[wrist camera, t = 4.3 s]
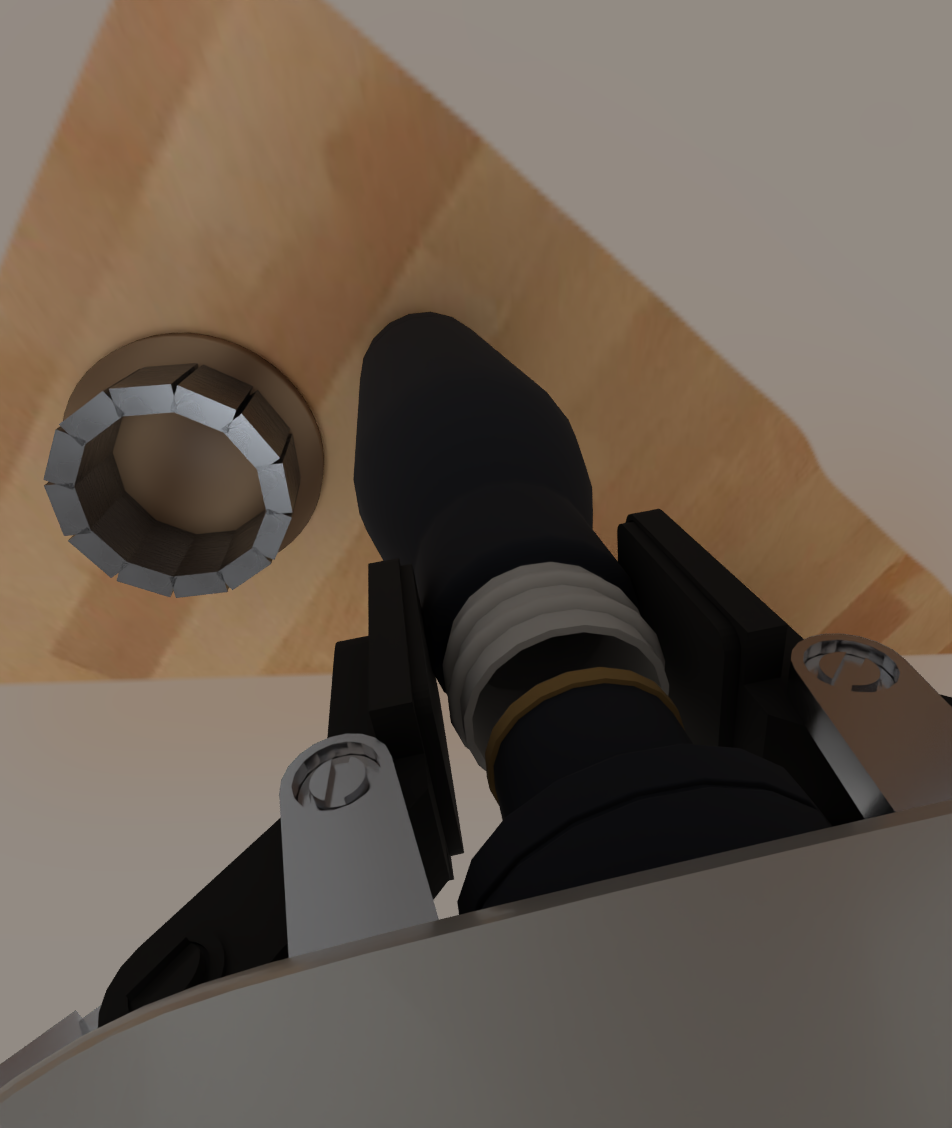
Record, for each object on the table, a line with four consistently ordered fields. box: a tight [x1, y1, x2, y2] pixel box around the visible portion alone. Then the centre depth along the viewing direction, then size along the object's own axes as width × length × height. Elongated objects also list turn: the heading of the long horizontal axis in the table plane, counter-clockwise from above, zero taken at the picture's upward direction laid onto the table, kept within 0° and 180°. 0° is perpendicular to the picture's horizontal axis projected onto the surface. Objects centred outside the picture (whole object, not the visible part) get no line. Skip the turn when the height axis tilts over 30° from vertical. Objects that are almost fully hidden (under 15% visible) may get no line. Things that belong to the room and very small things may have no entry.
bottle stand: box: [44, 333, 324, 598], centre depth 32 cm, size 13×13×6 cm
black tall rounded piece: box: [354, 312, 833, 915], centre depth 17 cm, size 6×6×30 cm
